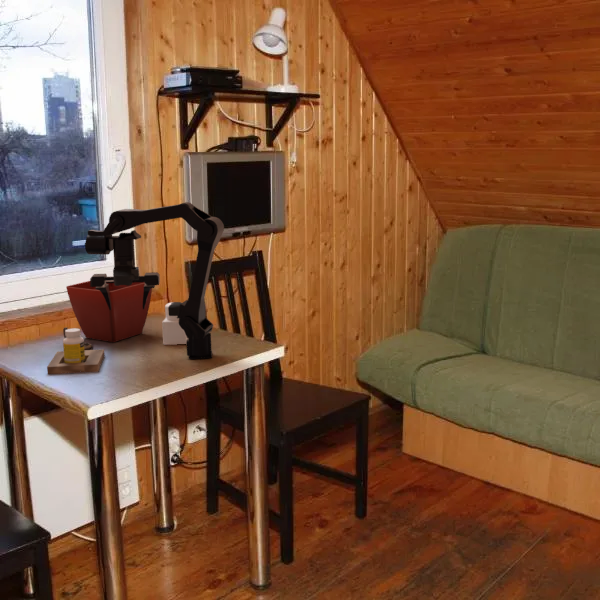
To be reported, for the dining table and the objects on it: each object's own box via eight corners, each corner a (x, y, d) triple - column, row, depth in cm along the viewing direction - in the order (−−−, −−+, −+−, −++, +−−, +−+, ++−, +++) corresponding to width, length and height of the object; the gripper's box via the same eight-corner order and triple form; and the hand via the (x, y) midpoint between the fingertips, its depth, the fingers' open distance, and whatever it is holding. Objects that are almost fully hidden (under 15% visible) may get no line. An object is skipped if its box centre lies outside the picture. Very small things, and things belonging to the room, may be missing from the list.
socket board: (104, 356, 220) (104, 349, 219) (98, 371, 205) (97, 364, 205) (57, 358, 218) (57, 351, 218) (47, 374, 204) (47, 366, 203)
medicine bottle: (190, 338, 237) (189, 300, 235) (186, 344, 230) (184, 305, 228) (167, 338, 238) (165, 300, 235) (162, 345, 231) (160, 305, 228)
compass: (95, 350, 226) (93, 326, 225) (67, 354, 223) (65, 329, 221) (89, 344, 233) (87, 320, 232) (62, 347, 230) (60, 323, 228)
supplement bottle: (84, 367, 208) (82, 331, 206) (63, 368, 207) (60, 333, 205) (86, 361, 213) (83, 327, 211) (65, 362, 212) (63, 328, 210)
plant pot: (68, 339, 239) (64, 285, 236) (113, 325, 255) (110, 275, 252) (113, 347, 229) (109, 291, 226) (157, 332, 245) (154, 280, 242)
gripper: (85, 260, 207) (89, 317, 210) (156, 258, 209) (158, 314, 212) (91, 254, 218) (94, 308, 221) (158, 252, 220) (161, 306, 223)
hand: (127, 309), depth 219 cm, fingers open, 9 cm apart
